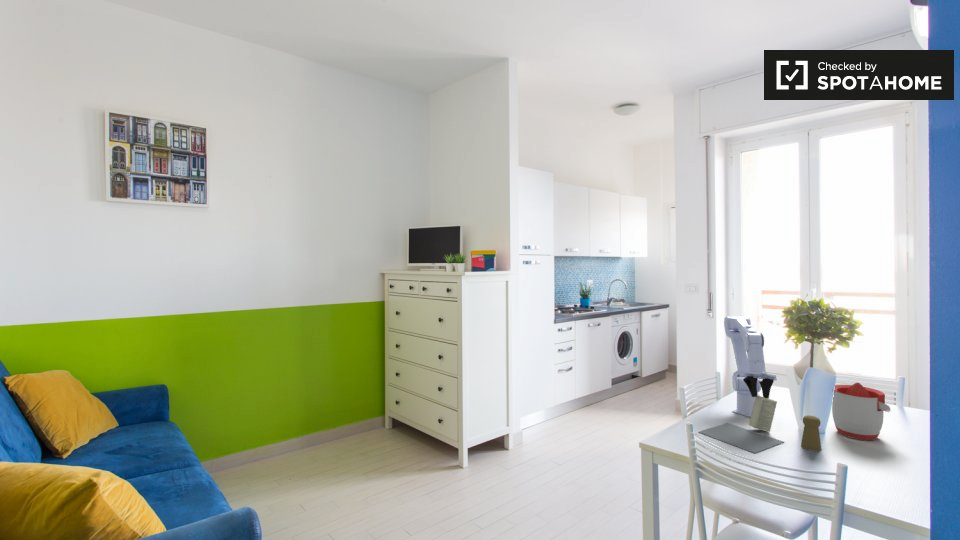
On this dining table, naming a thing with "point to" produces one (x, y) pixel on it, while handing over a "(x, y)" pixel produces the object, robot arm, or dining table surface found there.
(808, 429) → the cork
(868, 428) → the citrus juicer
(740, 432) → the mat
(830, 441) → the dining table surface
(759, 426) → the skincare box
